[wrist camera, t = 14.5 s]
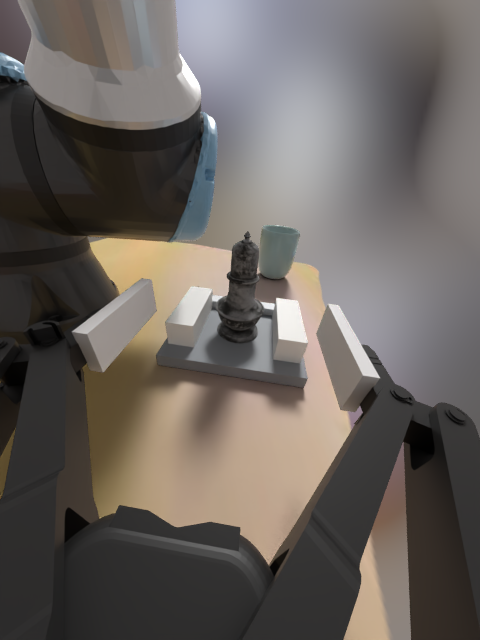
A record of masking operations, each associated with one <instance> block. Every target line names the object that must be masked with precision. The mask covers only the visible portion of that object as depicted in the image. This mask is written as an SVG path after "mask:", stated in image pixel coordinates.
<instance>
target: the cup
mask: <svg viewBox="0 0 480 640" xmlns="http://www.w3.org/2000/svg"><path fill="white" fill-rule="evenodd" d="M299 237H300V232H299V231H298V230H296V229H293V228H289V227H284V226H275V225H266V226H263V227H262V231H261V237H260V245H259V260H258V268H259V271H260V273H261V274H262V275H263V276H264V277H266V278H270V279H281V278H284V277H285V276H286V275H287V274H288V273H289V271H290V269H291V266H292V263H293V261H294V257H295V253H296V250H297V245H298V241H299Z"/></svg>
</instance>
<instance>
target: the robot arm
mask: <svg viewBox="0 0 480 640" xmlns="http://www.w3.org/2000/svg"><path fill="white" fill-rule="evenodd" d="M18 3H19V5H20V7H21V9H22V11H23V14H24V16H25V18H26V20H27V23H28V25H29V27H30V29H31V32H32V39H31V42H30V46H29V50H28V53H27V57H26V61H25V65H23V64H22V63H20V62H19V61H17V60H15V59H13V58H12V57H10V56H7V55H5V54H3V53H1V52H0V381H1V383H0V456H1V455H2V453H3V451H4V449H5V447H6V445H7V443H8V441H9V439H10V437H11V435H12V433H13V431H14V429H15V427H16V430H15V435H14V441H13V446H12V451H11V456H10V461H9V467H8V472H7V477H6V482H5V488H4V492H3V496H2V498H1V499H0V640H343V639H344V636H345V633H346V630H347V627H348V624H349V621H350V618H351V615H352V612H353V609H354V606H355V603H356V600H357V596H358V593H359V589H360V585H361V573H360V570H359V566H360V561H361V558H362V555H363V552H364V549H365V546H366V544H367V541H368V538H369V535H370V532H371V530H372V527H373V524H374V521H375V518H376V516H377V513H378V510H379V507H380V504H381V501H382V499H383V496H384V493H385V490H386V487H387V485H388V482H389V479H390V476H391V473H392V471H393V468H394V465H395V462H396V459H397V457H398V454H399V451H400V448H401V445H402V443H403V442H404V462H405V488H406V514H407V538H408V539H407V541H408V568H409V595H410V618H411V619H410V620H411V640H480V438H479V435H478V432H477V430H476V427H475V425H474V423H473V421H472V419H471V418H470V417H468V415H467V414H465V413H464V412H463V411H461V410H460V409H458V408H457V407H455V406H453V405H450V404H447V403H438V404H437V405H436V406H434V407H433V408H432V407H430V406H428V405H425V404H422V403H420V402H417V401H415V399H414V397H413V396H412V395H411V394H410V393H409V392H408V391H407V390H406V389H404V388H403V387H401V386H398V385H396V384H394V382H393V380H392V379H391V377H390V376H389V374H388V372H387V371H386V369H385V368H384V366H383V365H382V363H381V361H380V360H379V358H378V356H377V355H376V353H375V352H374V351H373V350H372V349H371V348H370V347H369V346H367V345H361V344H360V342H359V340H358V338H357V337H356V335H355V333H354V331H353V330H352V328H351V326H350V324H349V323H348V321H347V319H346V317H345V316H344V314H343V312H342V310H341V309H340V307H339V305H333V304H328V305H327V308H326V310H325V313H324V315H323V318H322V320H321V323H320V325H319V328H318V331H317V333H316V334H317V337H318V341H319V344H320V347H321V350H322V353H323V356H324V359H325V363H326V366H327V369H328V372H329V375H330V378H331V382H332V385H333V388H334V391H335V394H336V397H337V400H338V404H339V407H340V410H344V411H350V412H355V411H356V410H357V409H358V407H359V406H361V409H362V411H363V413H362V415H361V416H360V417H359V418H358V420H357V421H356V422H355V426H354V427H353V429H352V431H351V432H350V434H349V436H348V437H347V439H346V441H345V442H344V444H343V446H342V447H341V449H340V451H339V452H338V454H337V456H336V457H335V459H334V461H333V462H332V464H331V466H330V467H329V469H328V471H327V472H326V474H325V476H324V477H323V479H322V481H321V482H320V484H319V486H318V487H317V489H316V491H315V492H314V494H313V495H312V497H311V499H310V500H309V502H308V504H307V505H306V507H305V509H304V510H303V512H302V514H301V515H300V517H299V519H298V520H297V522H296V524H295V525H294V527H293V529H292V530H291V532H290V533H289V535H288V536H287V538H286V539H285V541H284V542H283V544H282V545H281V547H280V548H279V550H278V551H277V553H276V554H275V556H274V558H273V559H272V561H271V563H270V564H269V566H268V564H267V562H266V560H265V559H264V558H263V556H262V555H261V553H260V552H259V551H258V550H257V548H256V547H255V546H254V545H253V544H252V543H251V542H250V541H248V540H247V539H246V538H244V537H243V536H241V535H240V527H235V526H230V525H224V524H219V523H213V522H207V523H201V524H196V525H190V526H184V527H174V526H172V525H170V524H169V523H167V522H166V521H164V520H163V519H161V518H159V517H158V516H156V515H155V514H153V513H152V512H150V511H148V510H143V509H138V508H132V507H127V506H121V505H119V507H118V509H117V511H116V513H114V514H111V515H108V516H105V517H102V518H100V519H99V516H98V511H97V507H96V504H95V501H94V498H93V490H92V476H91V463H90V450H89V437H88V423H87V410H86V397H85V384H84V372H83V370H82V367H83V366H84V365H85V364H86V363H87V365H88V367H89V369H90V371H97V372H104V371H105V370H106V369H107V368H108V367H109V365H110V364H111V363H112V362H113V361H114V360H115V358H116V357H117V356H118V355H119V354H120V353H121V351H122V350H123V349H124V348H125V347H126V346H127V345H128V343H129V342H130V341H131V340H132V339H133V338H134V336H135V335H136V334H137V333H138V332H139V331H140V330H141V328H142V327H143V326H144V325H145V324H146V323H147V321H148V320H149V319H150V318H151V317H152V316H153V314H154V313H155V312H156V311H157V310H156V303H155V297H154V291H153V285H152V280H150V279H143V278H142V279H140V280H139V281H138V282H136V283H135V284H134V285H132V286H131V287H130V288H128V289H127V290H126V291H124V292H123V293H122V294H121V295H119V291H118V288H117V286H116V285H115V284H114V282H113V281H112V280H110V279H109V277H108V276H107V274H106V272H105V271H104V269H103V267H102V266H101V264H100V263H99V261H98V260H97V258H96V257H95V255H94V254H93V252H92V250H91V247H90V244H89V241H88V238H87V236H89V237H105V238H120V239H135V240H149V241H164V242H174V241H194V240H197V239H199V238H200V237H202V235H203V234H204V233H205V231H206V228H207V225H208V221H209V217H210V212H211V206H212V200H213V192H214V176H215V168H216V163H217V128H216V123H215V121H214V120H213V118H212V117H209V116H208V115H207V113H204V112H201V90H200V86H199V84H198V81H197V80H196V78H195V77H194V75H193V74H192V72H191V71H190V69H189V68H188V66H187V64H186V63H185V61H184V60H183V58H182V56H181V55H180V52H179V48H178V34H177V20H176V6H175V0H18Z"/></svg>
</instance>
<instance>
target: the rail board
mask: <svg viewBox="0 0 480 640" xmlns="http://www.w3.org/2000/svg"><path fill="white" fill-rule="evenodd" d="M222 297H223V296H216V295H213V289H209V288H202V287H194V286H192V287H191V288H190V289H189V291H188V292H187V293H186V295H185V296H184V297H183V299H182V300H181V301H180V303H179V304H178V306H177V307H176V308H175V310H174V311H173V312H172V314H171V315H170V316H169V318H168V319H167V320H166V322H165V324H166V331H167V339H166V341H165V342H164V344H163V345H162V347H161V348H160V350H159V351H158V353H157V354H156V358H157V363H158V365H162V366H168V367H174V368H181V369H187V370H193V371H200V372H206V373H212V374H219V375H225V376H231V377H238V378H244V379H250V380H257V381H263V382H270V383H276V384H282V385H289V386H295V387H301V388H304V386H305V384H306V381H307V379H308V378H307V373H306V368H305V363H304V358H303V355H304V352H305V350H306V347H307V344H308V341H307V337H306V333H305V329H304V325H303V321H302V316H301V312H300V308H299V304H298V301H295V300H288V299H281V298H276V301H275V304H273V303H266V302H261V303H262V305H263V306H264V313H263V315H262V316H261V317H260V319H259V321H258V322H257V324H256V327H257V329H258V334H257V337H256V338H255V339H254V340H252V341H250V342H247V343H232V342H229V341H227V340H224V339H223V338H222V337H220V335H219V334H218V331H217V328H218V325H219V323H220V322H222V321H221V320H220V317H219V315H218V312H217V310H216V307H215V306H216V302H217V301H218V300H219V299H221V298H222Z"/></svg>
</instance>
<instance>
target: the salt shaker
mask: <svg viewBox="0 0 480 640" xmlns="http://www.w3.org/2000/svg"><path fill="white" fill-rule="evenodd" d="M244 236H245V239H244V240H242V241H240V242H238V243H236V244H235V245H234V246H233V249H232V260H231V272H229V273H228V274H227V278H228V279H229V292H228V295H227V296H225V297H222V298H221V299H219V300H218V301H217V302H216V306H215V307H216V310H217V312H218V315H219V317H220V320H221V321H222V322H220V323H219V325H218V328H217V331H218V334H219V335H220V337H222V338H223V339H224V340H227V341H229V342H232V343H247V342H250V341H252V340H254V339H255V338H256V337H257V334H258V329H257V327H256V324H257V322H258V321H259V319H260V317H261V316H262V315H263V313H264V306H263V305H262V303H261V302H260V301H258V300H257V299H255V296H254V293H255V286H256V282H258V281H259V276H258V275H257V267H258V260H259V248H258V246H257V245H256V244H255V243H253V242H252V241H251V240H249V238H250V237H251V236H250V234H249V232H247V233H246V234H245V235H244Z"/></svg>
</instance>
